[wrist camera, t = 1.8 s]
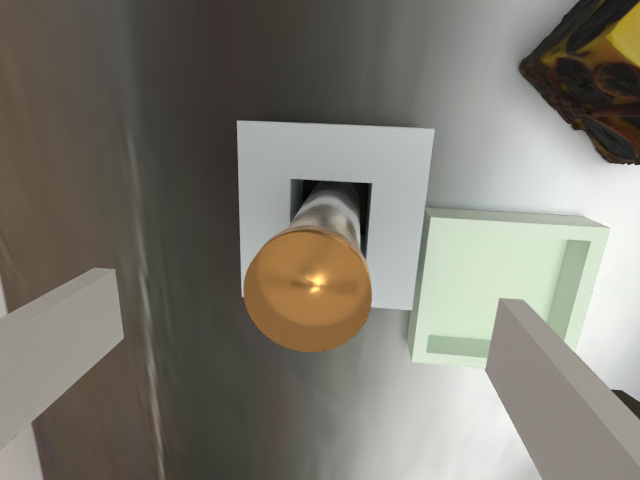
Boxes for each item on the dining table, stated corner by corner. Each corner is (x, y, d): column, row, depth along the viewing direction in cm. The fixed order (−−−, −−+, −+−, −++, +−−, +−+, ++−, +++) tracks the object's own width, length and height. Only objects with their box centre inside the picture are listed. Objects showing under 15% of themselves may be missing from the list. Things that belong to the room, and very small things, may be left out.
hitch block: (260, 120, 29) (237, 120, 23) (419, 127, 28) (434, 128, 22) (262, 266, 33) (241, 296, 27) (402, 276, 32) (411, 310, 26)
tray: (423, 207, 30) (430, 217, 27) (583, 216, 29) (610, 228, 26) (406, 339, 33) (411, 362, 30) (547, 351, 32) (568, 376, 29)
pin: (305, 170, 30) (241, 229, 13) (367, 173, 29) (377, 238, 13) (304, 228, 31) (244, 346, 15) (362, 232, 31) (366, 357, 14)
